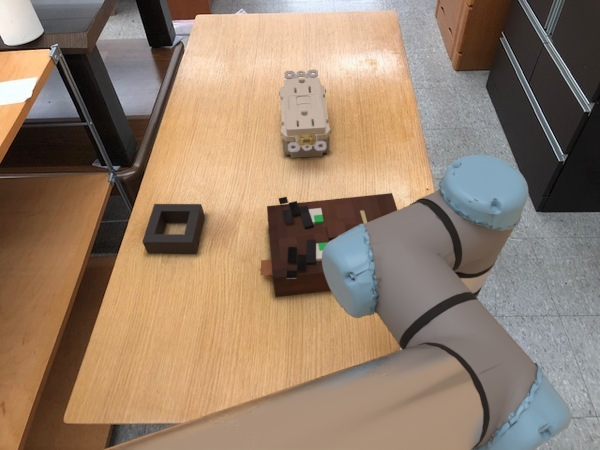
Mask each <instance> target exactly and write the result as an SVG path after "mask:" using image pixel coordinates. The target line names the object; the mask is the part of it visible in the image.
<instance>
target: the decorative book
mask: <svg viewBox="0 0 600 450" xmlns="http://www.w3.org/2000/svg"><path fill="white" fill-rule="evenodd" d="M278 202H279V204H273V205H267V206H266V211H267V225H268V236H269V237H268V238H269V248H270V259H260V276H272V283H273V290H274V295H275V298H280V297H281V298H282V297H289V296H299V295H306V294H307V295H308V294H316V293H325V292H331V290H330V287H329V285H328V283H327V280H326V278H325V274H324V271H323V266H322V252H323V249H324V247H325V246H326V244H327V243H329V242H330V241H331V240H333V239H335V238H337V237H338V236H339V235H341V234H343V233H345V232H347V231H349V230H351V229H352V228H354V227H356V226H358V225H360V224H365V223H368V222H370V221H372V220H375V219H377V218H380V217H382V216H385V215H387V214H390V213H392V212H394V211H397V210H398V207H397V203H396V201H395V197H394V195H393V193H392V192H389V193H388V192H387V193H379V194H370V195H361V196H352V197H343V198H332V199H323V200H312V201H302V202H298V201H297V200H295V201H290V202H289V200H288V197H287V196H282V197H278Z"/></svg>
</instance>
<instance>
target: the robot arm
mask: <svg viewBox="0 0 600 450" xmlns="http://www.w3.org/2000/svg"><path fill="white" fill-rule="evenodd" d="M528 197H529V186H528V182H527V180H526V178H525V177H524V175H523V174H522V173H521V171H519V170H518V169H517V168H515V167H514V166H513V165H512V164H511V162H508V161H507V160H504V159H503V158H500V157H497V156H494V155H489V154H478V153H476V154H468V155H465V156H462V157H459V158H458V159H455V160H453V162H452V163H450V165H449V166H448V167H447V168H446V170H445V173H444V175H443V177H442V178H441V179H440V181H439V184H438V189H437V190H435V191H434V192H432V193H429V194H427V195H424V196H422V197H420V198H418V199H416V201H414V202H412V203H410V204H409V205H406V206H404V207H402V208H400V209H397V211H394V212H392V213H390V214H387V215H385V216H382V217H380V218H377V219H375V220H372V221H370V222H368V223H365V224H360V225H358V226H356V227H354V228H352V229H351V230H349V231H347V232H345V233H343V234H341V235H339V236H338V237H337V238H335V239H333V240H331V241H330V242H329V243H327V244H326V246H325V247H324V249H323V252H322V266H323V271H324V274H325V278H326V280H327V283H328V285H329V287H330V290H331V291H330V292H331V293H332V295H333V298H334V299H335V301H336V302H337V304H338V305H339V306H340V307H341V309H343V310H344V312H345V313H346V314H347V315H349V316H350V317H352V318H354V319H360V318H363V317H366V316H373V315H374V314H376V315H377V316H378V317H379V319H380V320H381V321H382V323H383V324H384V326H385V327H386V328H387V330H388V331H389V333H390V335H391V336H392V337H393V339H394V340H395V342H396V343H397V345H398V346H399V347H401V349H402V350H399V349H398V350H399V351H398V350H397V351H394V352H391V353H388V354H384V355H381V356H379V357H375V358H373V359H369V360H367V361H364V362H361V363H358V364H355V365H352V366H349V367H346V368H343V369H340V370H337V371H334V372H331V373H327V374H325V375H321V376H319V377H316V378H313V379H310V380H307V381H304V382H300V383H298V384H294V385H292V386H288V387H286V388H283V389H280V390H276V391H274V392H272V393H271V392H270V393H268V394H265V395H262V396H259V397H256V398H253V399H250V400H247V401H244V402H241V403H238V404H235V405H231V406H229V407H226V408H223V409H220V410H218V411H213V412H212V413H208V414H205V415H203V416H200V417H197V418H193V419H190V420H187V421H184V422H181V423H178V424H175V425H172V426H169V427H165V428H164V429H160V430H157V431H155V432H152V433H149V434H148V433H147V434H145V435H142V436H139V437H136V438H134V439H130V440H127V441H125V442H122V443H119V444H116V445H112V446H110V447H107V448H104V449H103V450H536V449H538V448H540V447H541V446H543V445H544V444H545V443H547V442H548V441H549V440H551V439H553V438H555V437H556V436H557V435H559V434H560V433H562V432H564V431H565V430H566V429H567V428H568V427H569V426H570V424H571V422H572V412H571V409H570V407H569V405H568V403H567V402H566V401H565V400H564V398H563V397H562V395H561V394H560V392H559V391H558V390H557V389H556V388H555V386H554V385H553V384H552V382H551V381H550V380H549V379H548V377H547V376H546V375H545V374H544V371H543V369H542V367H541V366H540V365H539V364H538V363H537V362H534V361H533V359H532V358H531V357H530V356H529V355H528V354H527V352H526V351H525V350H524V349H523V348H522V347H521V346H520V345H519V344H518V343H517V341H516V340H515V339H514V338H513V337H512V336H511V335H510V333H509V332H508V331H507V330H506V329H505V327H504V326H503V325H501V323H500V322H499V321H498V320H497V319H496V318H495V316H494V315H492V313H491V312H490V311H489V310H488V308H486V306H484V304H483V303H482V302H481V301H480V299H479V298H478V296H479V294H480V292H481V290H482V288H483V286H484V285H485V282H486V280H487V279H488V277H489V274H490V273H491V272H492V270H493V268H494V266H495V263H496V261H497V260H498V257H499V255H500V254H501V252H502V250H503V248H504V247H505V244H506V243H507V241H508V240H509V238H510V236H511V235H512V232H513V231H514V230H515V228H517V226H519V223H520V221H521V218H522V217H521V216H522V214H523V211H524V208H525V206H526V203H527V201H528Z"/></svg>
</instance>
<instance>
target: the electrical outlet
mask: <svg viewBox="0 0 600 450" xmlns="http://www.w3.org/2000/svg"><path fill="white" fill-rule="evenodd" d="M306 72H307V73H306ZM283 85H284V86H282V87H280V88H279V91H278V95H279V97H280V119H281V120H280V121H281V130H280V131H279V135H280V137H281V138H282V149H283V151H282V152H283V155H284V156H285V157H286V156H288V155H289V156H290V158H291V159H297V158H315V157H322V156H323V154H324V153H326V154H329V153H330V135H331V134H332V128H331V127H330V123H329V114H328V107H327V98H326V94H327V88H326V87H325V85H323V84H321V78H320V77H319V71H318V69H315V68H314V69H309V70H307V71H304V70H298V71H297V72H295V71H294V70H286V71H284V79H283Z"/></svg>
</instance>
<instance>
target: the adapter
mask: <svg viewBox="0 0 600 450" xmlns="http://www.w3.org/2000/svg"><path fill="white" fill-rule="evenodd" d="M205 217H206V215H205V212H204V209H203V205H202V203H154V204H153V207H152V211H151V214H150V216H149V219H148V222H147V226H146V229H145V231H144V234H143V237H142V241H141V242H142V245H143V246H144V249H145V250H146V252H147V254H159V255H160V254H163V255H165V254H168V255H170V254H171V255H176V254H177V255H197V253H198V249H199V245H200V240H201V236H202V231H203V227H204V223H205ZM167 224H186V226H185V230H184V234H183V233H173V234H172V233H165V230H166V227H167Z"/></svg>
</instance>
